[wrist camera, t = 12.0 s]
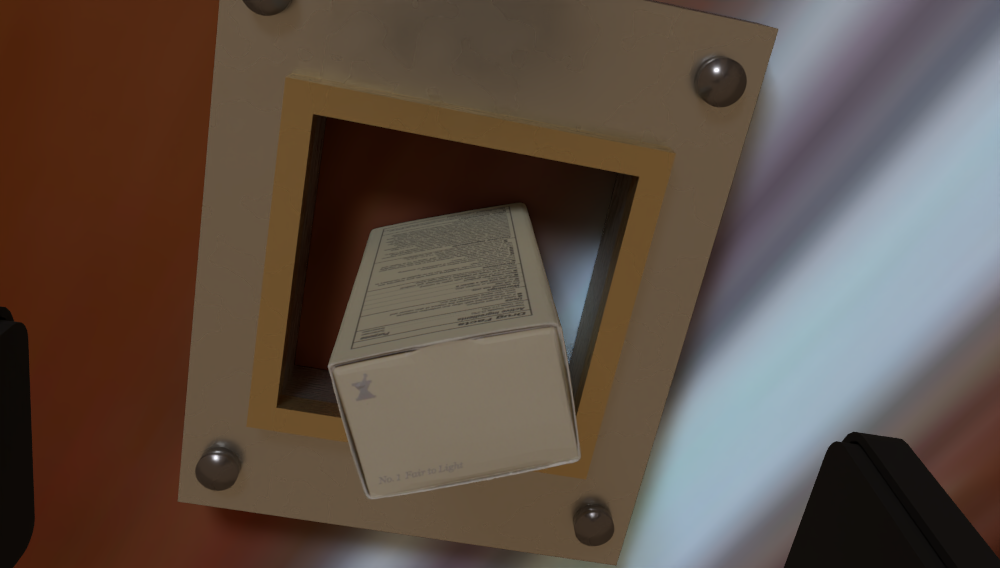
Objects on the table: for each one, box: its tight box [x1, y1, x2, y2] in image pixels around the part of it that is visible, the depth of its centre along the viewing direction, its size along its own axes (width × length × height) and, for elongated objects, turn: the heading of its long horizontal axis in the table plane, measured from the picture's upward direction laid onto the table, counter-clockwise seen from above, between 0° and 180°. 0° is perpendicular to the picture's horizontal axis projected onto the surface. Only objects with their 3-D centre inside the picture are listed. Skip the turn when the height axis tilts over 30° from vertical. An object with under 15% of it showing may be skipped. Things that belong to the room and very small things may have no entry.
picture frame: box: [178, 0, 778, 565], centre depth 33 cm, size 18×22×4 cm
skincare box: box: [328, 203, 581, 499], centre depth 29 cm, size 6×4×12 cm
